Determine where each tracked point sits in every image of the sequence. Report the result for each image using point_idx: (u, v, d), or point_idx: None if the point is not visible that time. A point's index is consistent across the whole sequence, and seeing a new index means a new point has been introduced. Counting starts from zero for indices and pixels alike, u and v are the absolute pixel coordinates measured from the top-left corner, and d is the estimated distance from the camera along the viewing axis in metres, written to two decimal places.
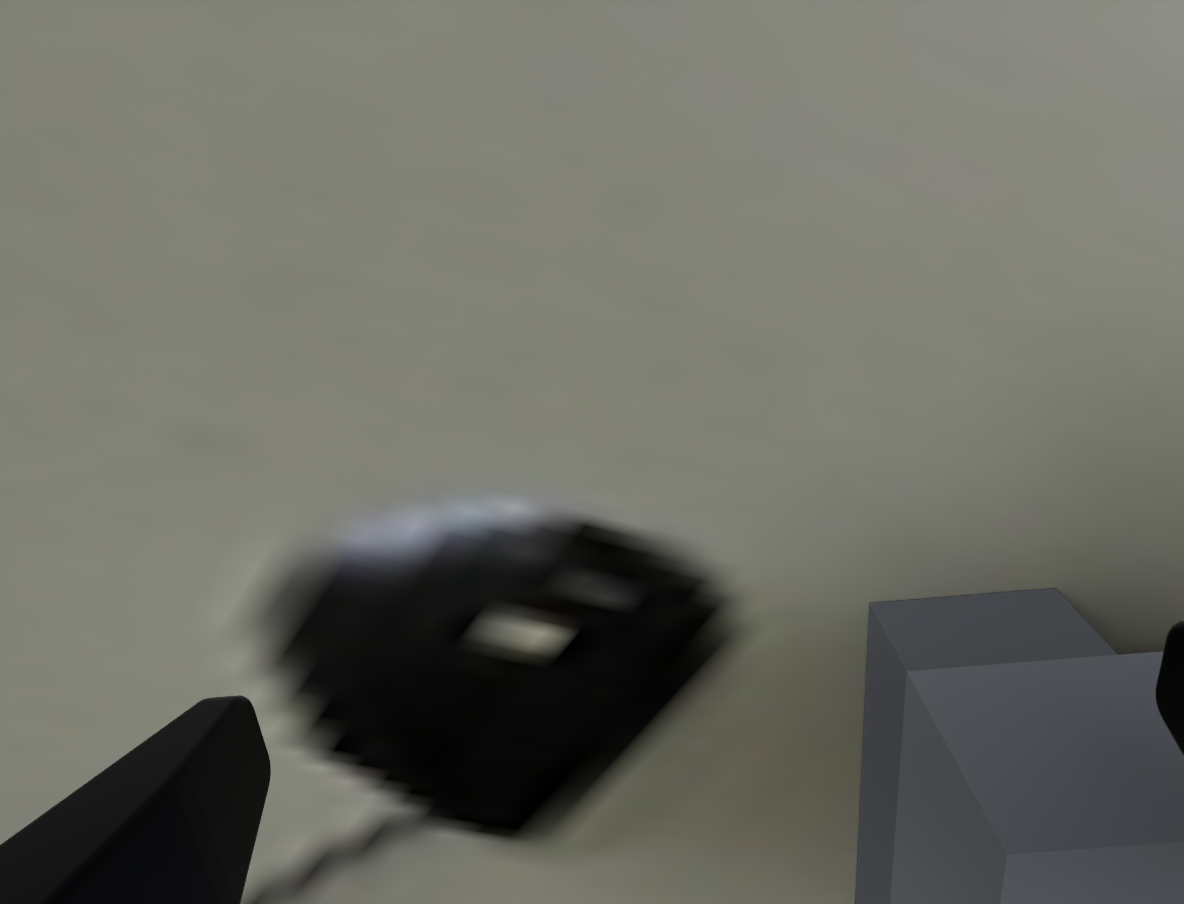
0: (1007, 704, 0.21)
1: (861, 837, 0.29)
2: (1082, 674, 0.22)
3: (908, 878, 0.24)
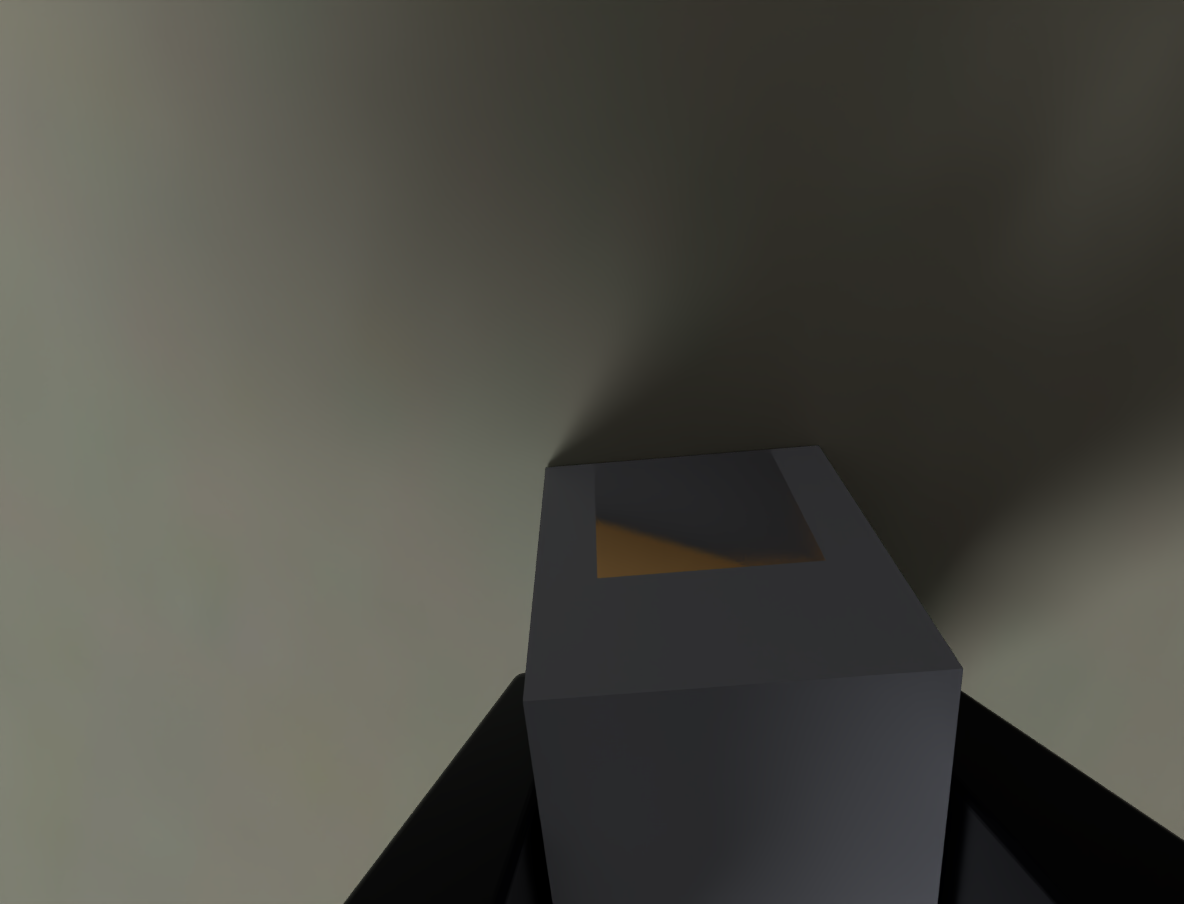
0: None
1: None
2: None
3: None
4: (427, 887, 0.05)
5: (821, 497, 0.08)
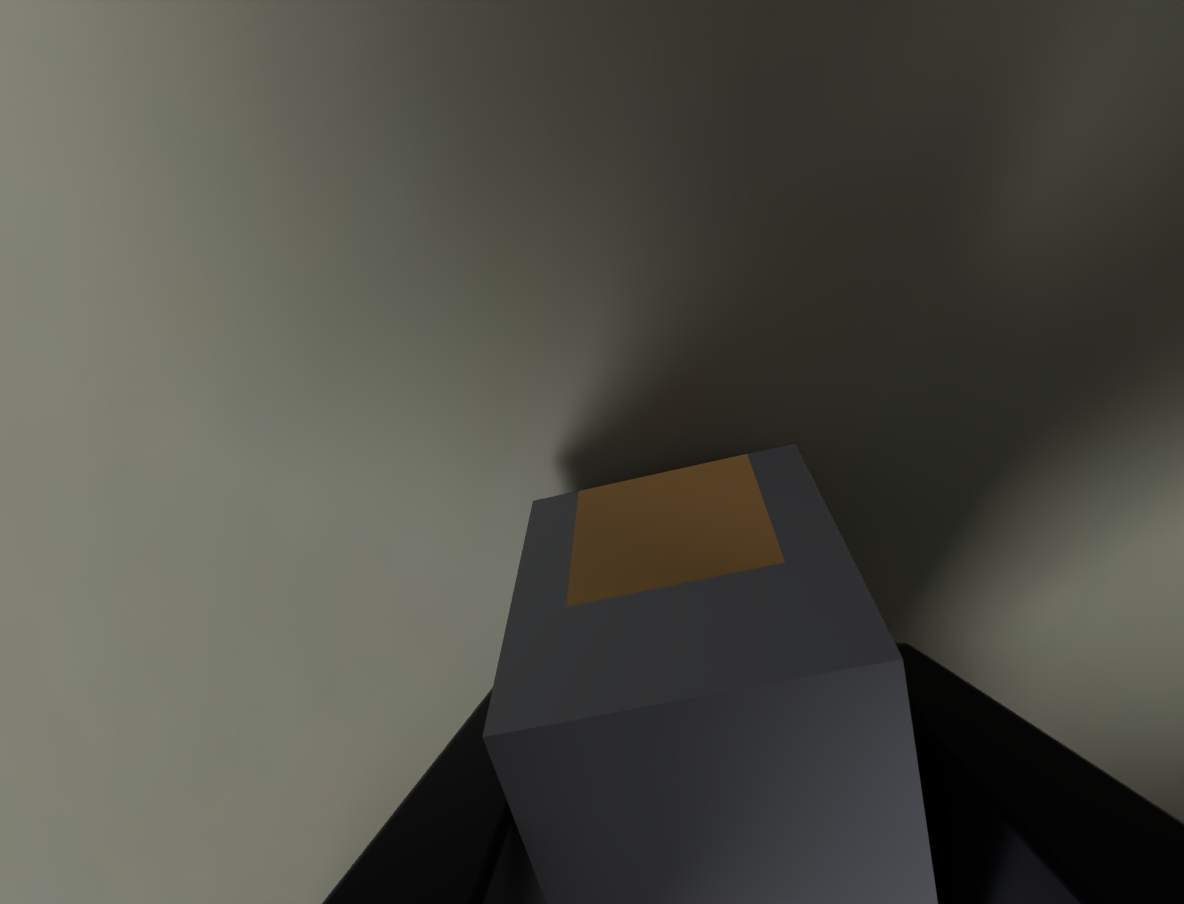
0: None
1: None
2: None
3: None
4: (404, 888, 0.05)
5: (790, 497, 0.08)
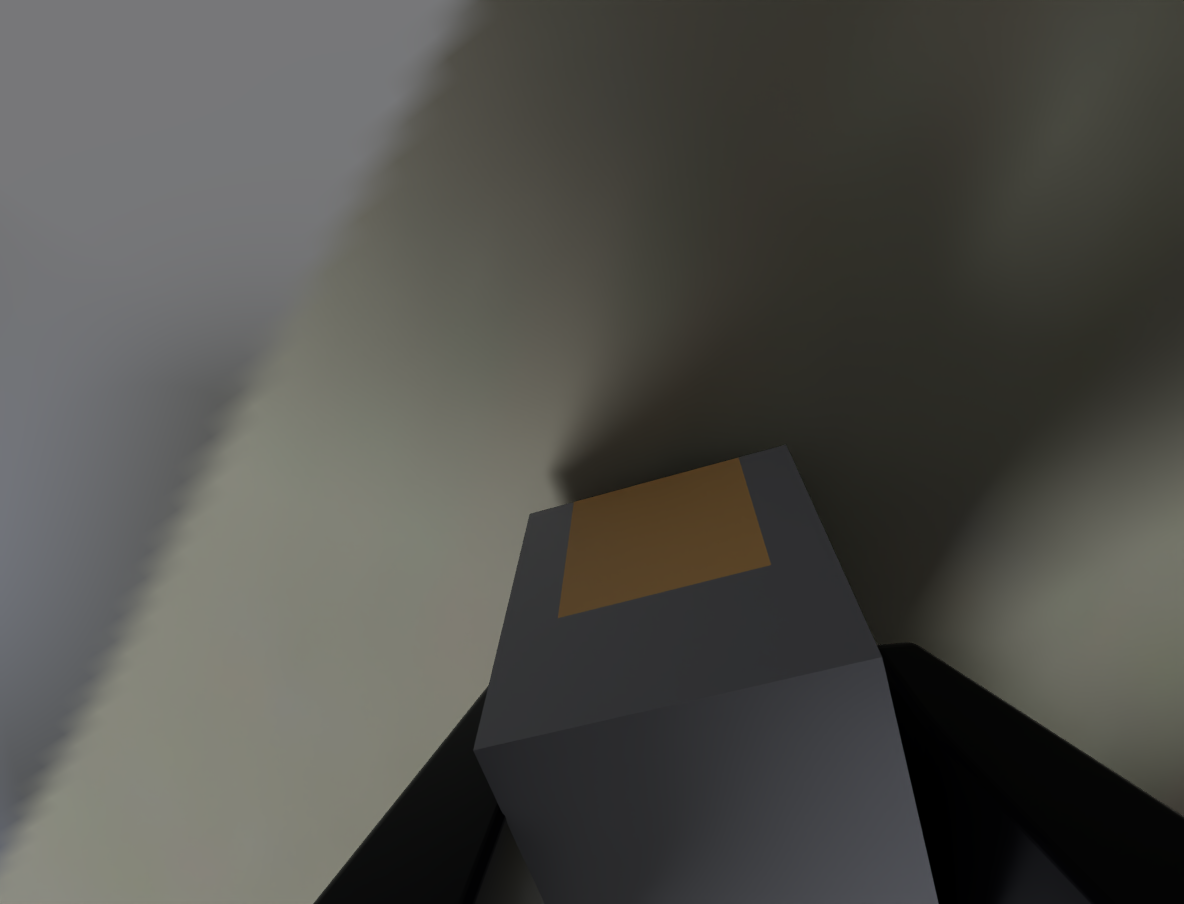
0: None
1: None
2: None
3: None
4: (396, 889, 0.05)
5: (779, 499, 0.08)
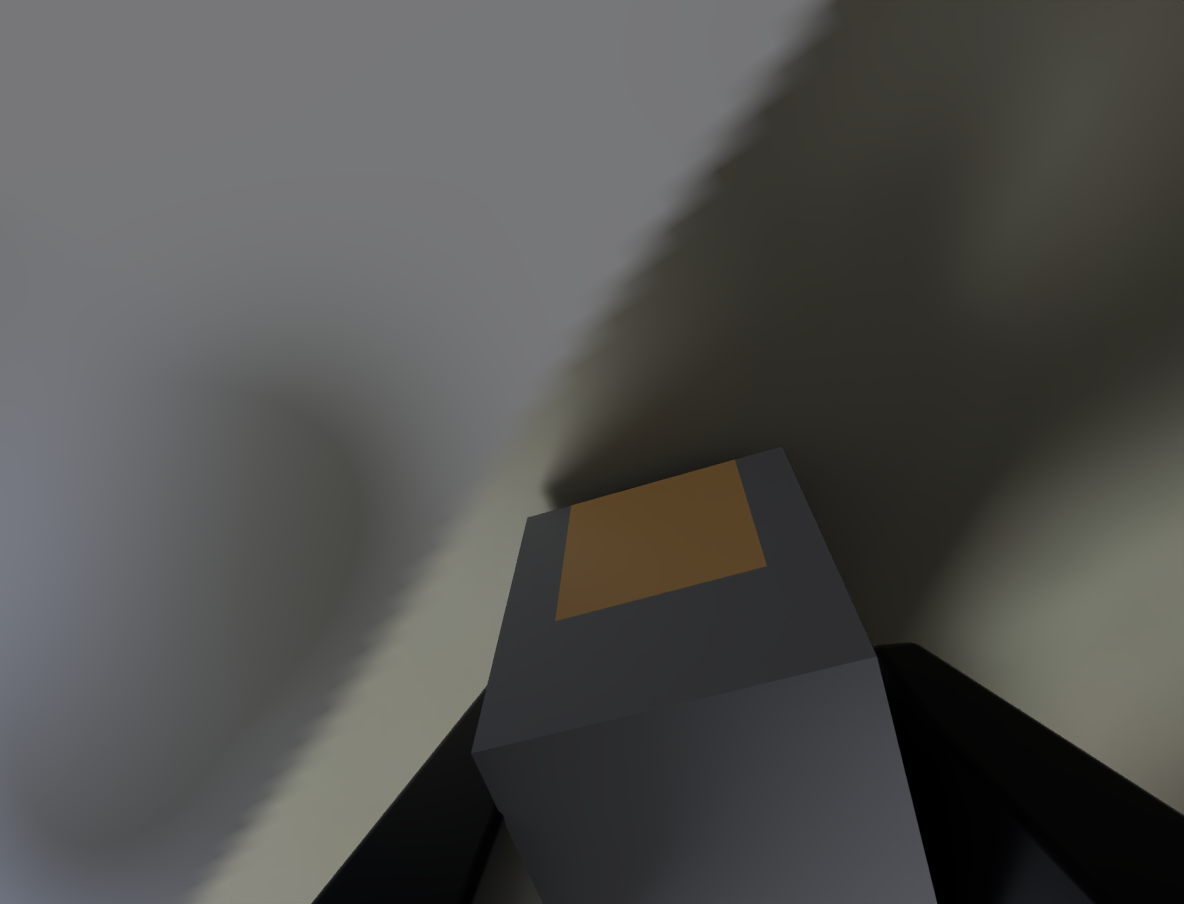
0: None
1: None
2: None
3: None
4: (393, 889, 0.05)
5: (774, 500, 0.08)
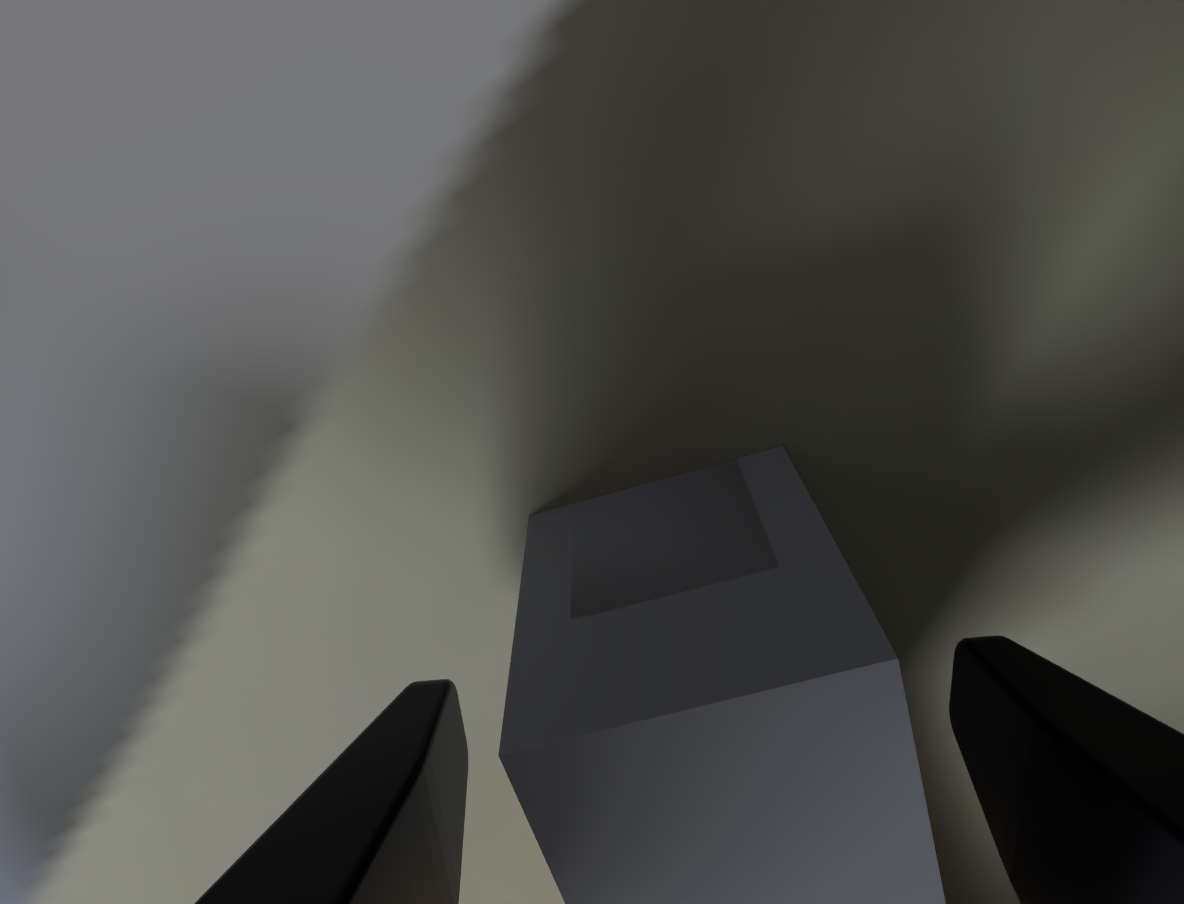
0: None
1: None
2: None
3: None
4: (267, 898, 0.05)
5: (780, 500, 0.08)
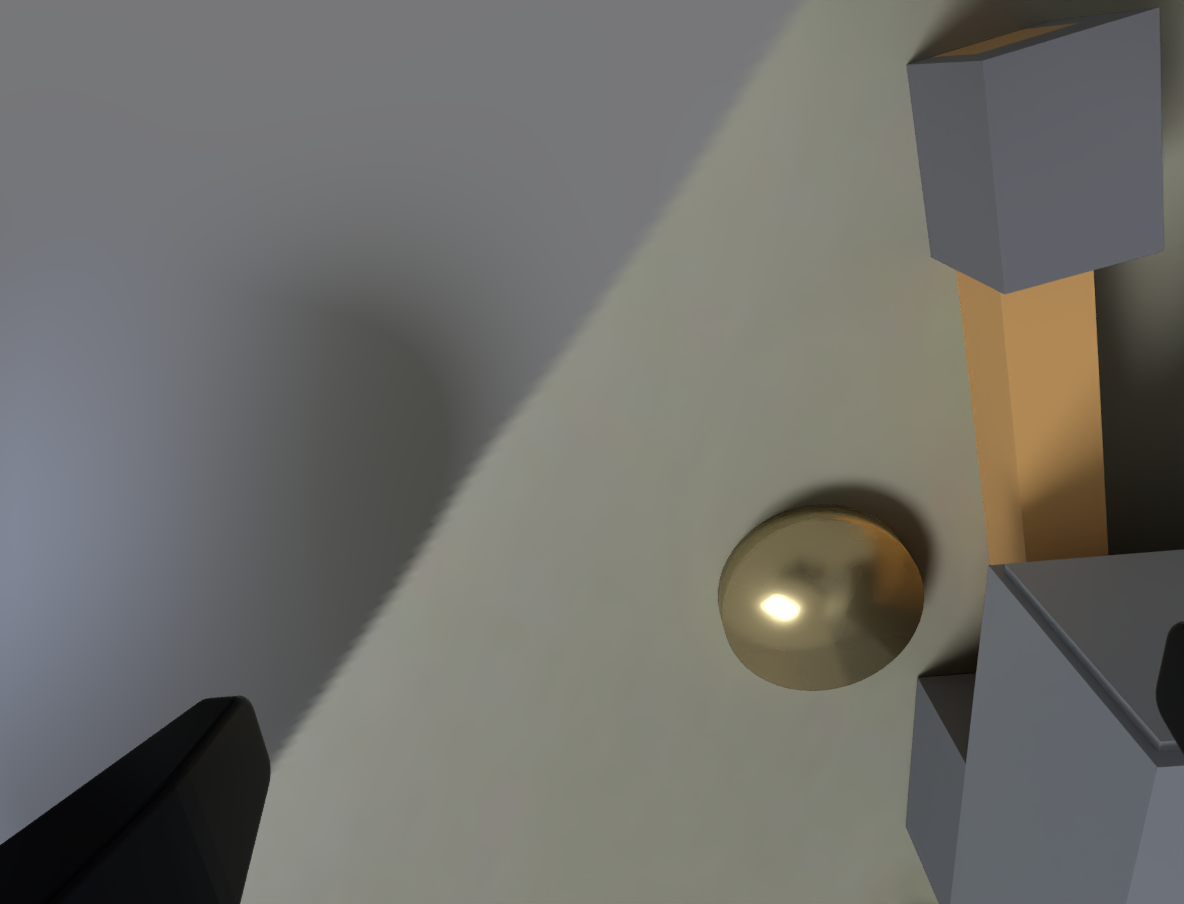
0: None
1: None
2: (972, 825, 0.20)
3: None
4: None
5: (1063, 22, 0.16)
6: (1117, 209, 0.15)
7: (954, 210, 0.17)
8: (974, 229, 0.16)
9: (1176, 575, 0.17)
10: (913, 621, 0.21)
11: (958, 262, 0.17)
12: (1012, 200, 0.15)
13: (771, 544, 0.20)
